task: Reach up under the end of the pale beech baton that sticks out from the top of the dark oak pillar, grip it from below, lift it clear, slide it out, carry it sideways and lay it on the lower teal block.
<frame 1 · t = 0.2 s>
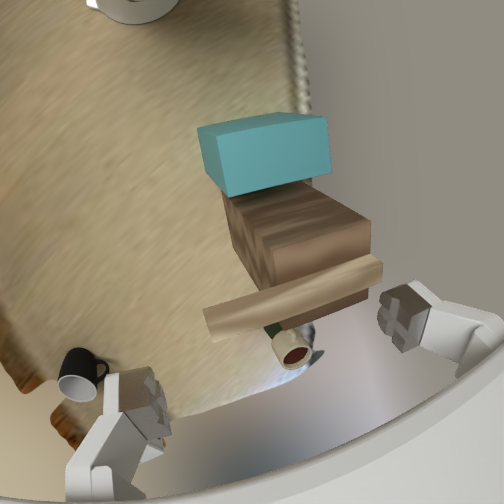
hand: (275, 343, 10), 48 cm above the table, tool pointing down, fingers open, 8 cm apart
baton: (294, 289, 38), point 26 cm above the table, touching pillar
supplement box: (133, 400, 73), on the table
mug: (86, 355, 63), on the table
teal rectangular block: (242, 140, 54), on the table
character mug: (274, 321, 74), on the table
pillar: (259, 211, 61), on the table
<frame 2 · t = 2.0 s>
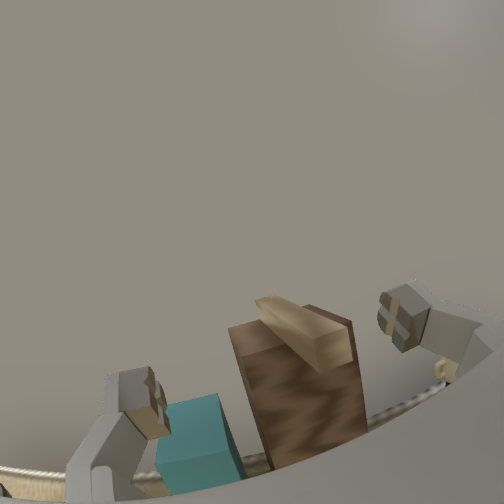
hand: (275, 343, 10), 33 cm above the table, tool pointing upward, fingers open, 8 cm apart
baton: (293, 334, 33), point 26 cm above the table, touching pillar
character mug: (458, 405, 42), on the table
pillar: (317, 478, 38), on the table
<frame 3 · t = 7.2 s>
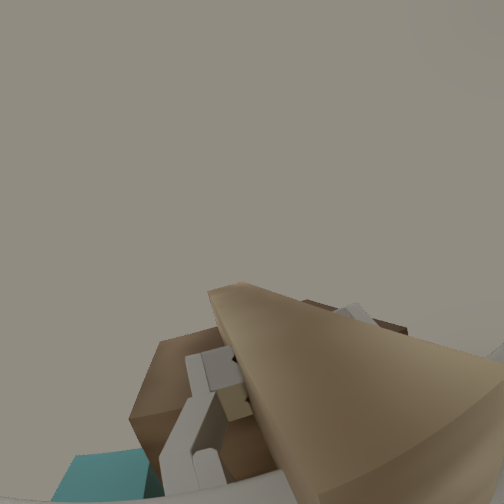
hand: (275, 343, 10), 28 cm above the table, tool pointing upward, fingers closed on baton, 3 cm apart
baton: (267, 364, 13), point 26 cm above the table, touching gripper, pillar
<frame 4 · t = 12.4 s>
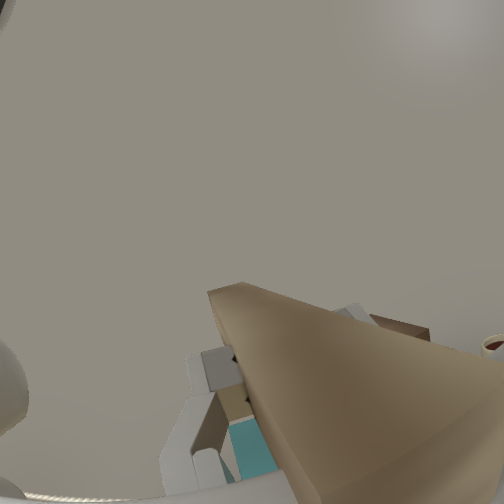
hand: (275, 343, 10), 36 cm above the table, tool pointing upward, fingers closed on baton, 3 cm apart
baton: (267, 365, 13), point 34 cm above the table, touching gripper
character mug: (496, 402, 40), on the table
pillar: (378, 482, 36), on the table
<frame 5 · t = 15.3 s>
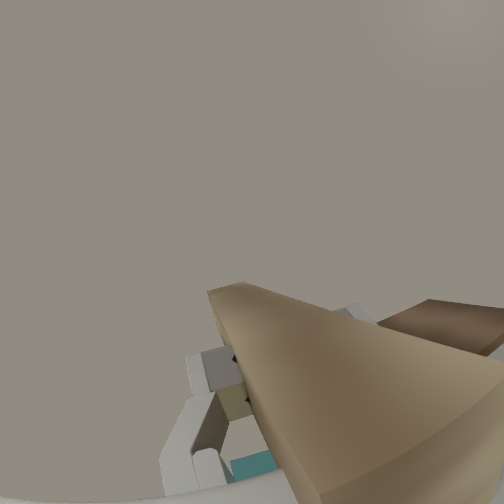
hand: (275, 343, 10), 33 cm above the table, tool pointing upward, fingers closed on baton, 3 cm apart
baton: (267, 364, 13), point 31 cm above the table, touching gripper
when the fingers open (21 cm above the table, at t = 17.9 s): baton drops 3 cm, resting on teal rectangular block.
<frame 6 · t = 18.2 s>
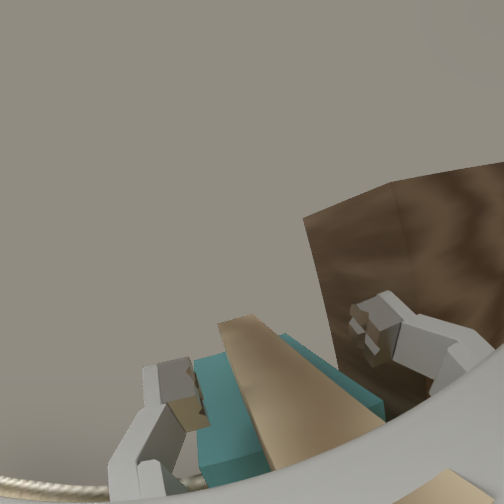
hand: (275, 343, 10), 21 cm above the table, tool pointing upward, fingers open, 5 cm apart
baton: (281, 414, 13), point 17 cm above the table, touching teal rectangular block
pillar: (434, 460, 22), on the table
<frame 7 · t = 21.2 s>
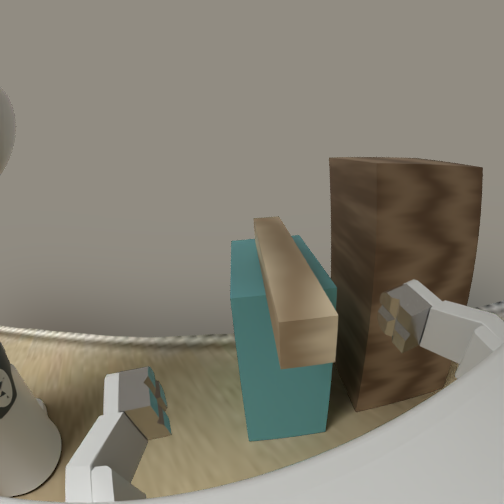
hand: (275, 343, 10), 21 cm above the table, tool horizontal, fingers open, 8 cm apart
baton: (280, 280, 25), point 17 cm above the table, touching teal rectangular block
teal rectangular block: (279, 391, 36), on the table
pillar: (383, 368, 37), on the table
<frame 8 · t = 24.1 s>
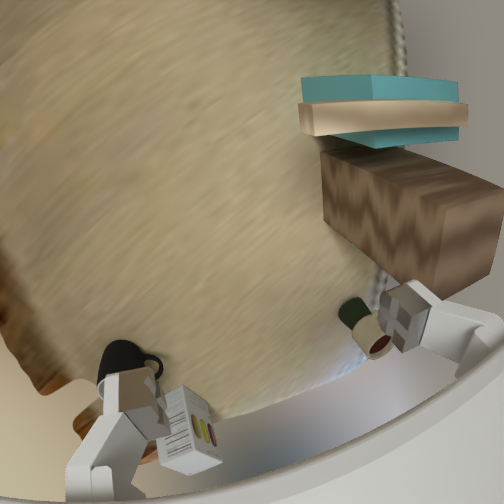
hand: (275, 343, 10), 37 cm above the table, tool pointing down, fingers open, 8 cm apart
baton: (390, 111, 29), point 17 cm above the table, touching teal rectangular block
supplement box: (179, 400, 65), on the table
mug: (130, 349, 54), on the table
teal rectangular block: (345, 100, 44), on the table
character mug: (349, 307, 66), on the table
pillar: (355, 180, 51), on the table
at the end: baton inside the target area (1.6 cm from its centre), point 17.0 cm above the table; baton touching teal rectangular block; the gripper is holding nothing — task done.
